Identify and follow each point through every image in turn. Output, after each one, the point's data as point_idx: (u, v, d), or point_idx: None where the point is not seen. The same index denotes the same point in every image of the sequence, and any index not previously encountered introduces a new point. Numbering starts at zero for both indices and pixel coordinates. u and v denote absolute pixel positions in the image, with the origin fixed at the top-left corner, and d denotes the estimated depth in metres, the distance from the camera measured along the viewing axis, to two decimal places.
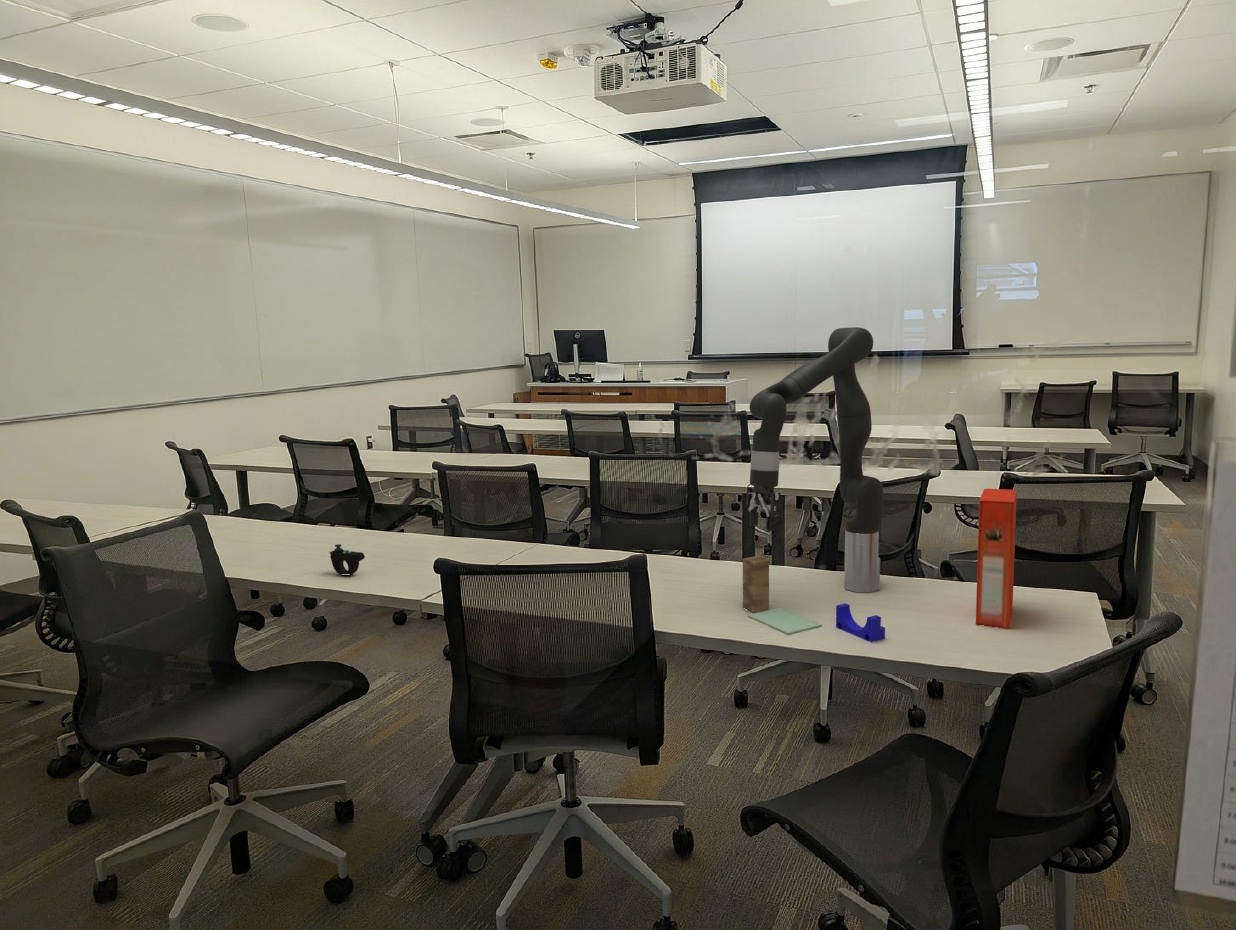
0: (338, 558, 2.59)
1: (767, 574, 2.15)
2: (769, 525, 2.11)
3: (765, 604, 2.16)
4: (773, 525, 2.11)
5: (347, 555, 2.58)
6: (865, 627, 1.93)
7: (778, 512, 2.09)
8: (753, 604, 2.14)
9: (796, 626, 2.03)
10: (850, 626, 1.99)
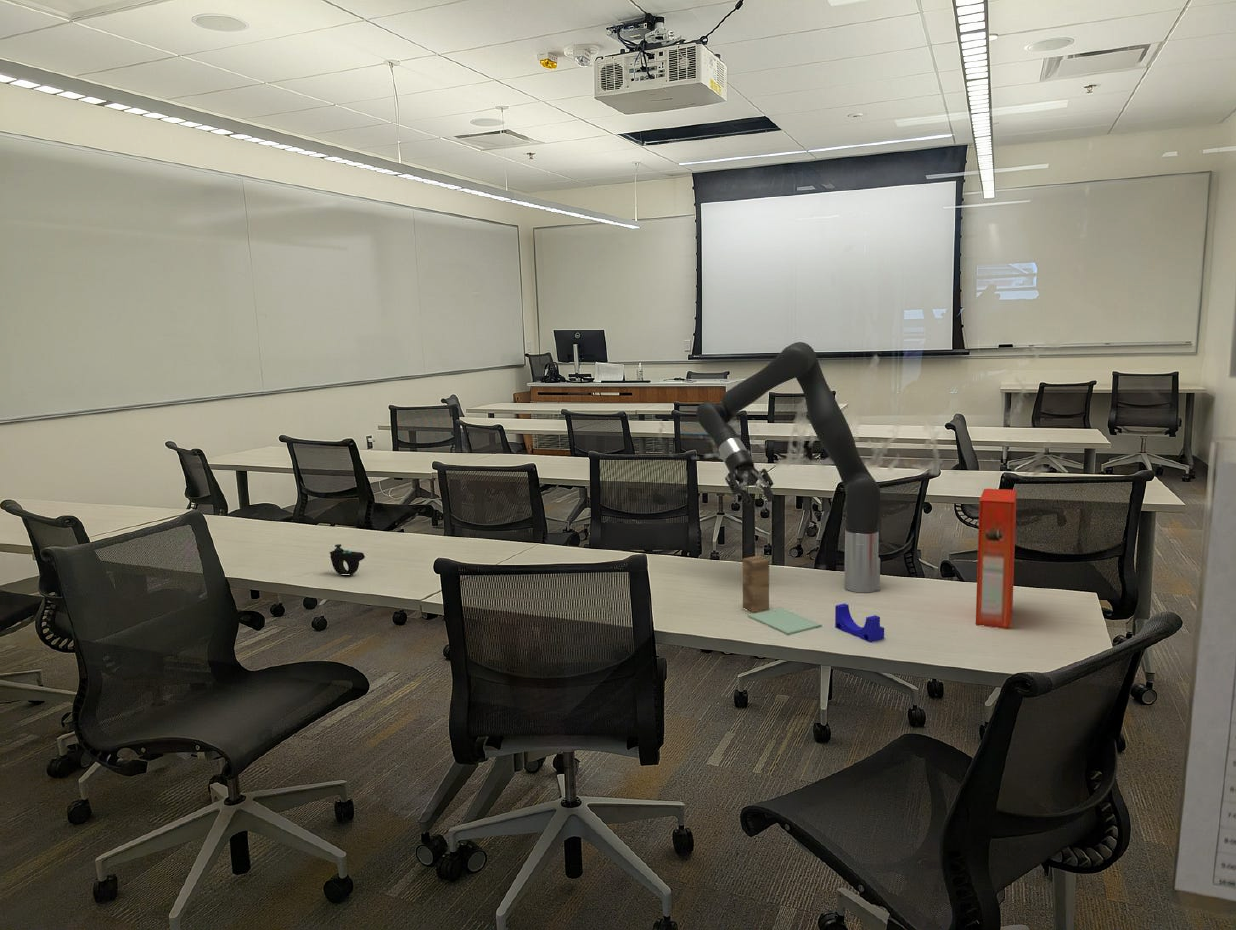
0: (338, 558, 2.59)
1: (767, 574, 2.15)
2: None
3: (765, 604, 2.16)
4: (745, 498, 2.27)
5: (347, 555, 2.58)
6: (864, 627, 1.93)
7: (735, 488, 2.28)
8: (753, 604, 2.14)
9: (796, 626, 2.03)
10: (849, 627, 1.98)
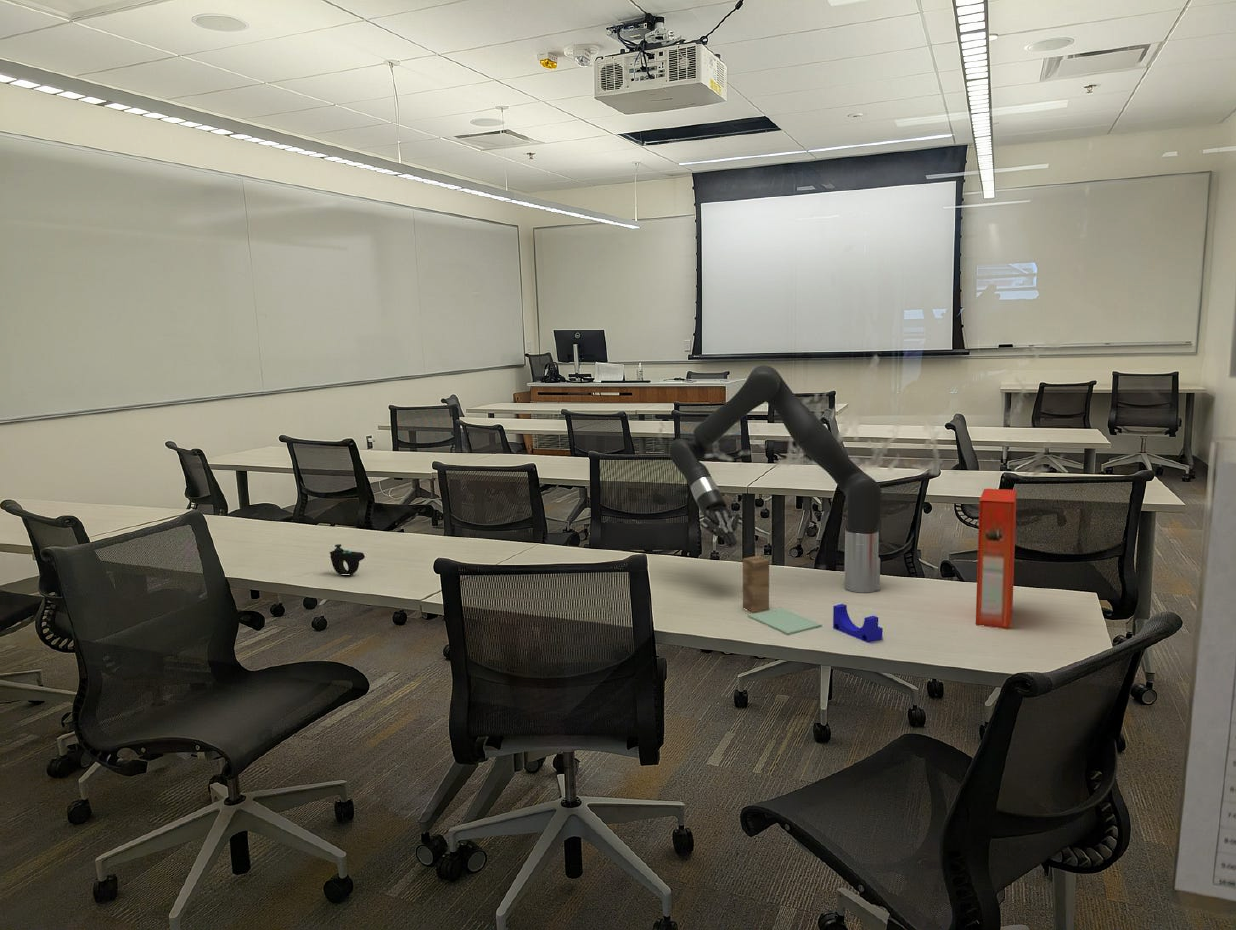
0: (338, 558, 2.59)
1: (767, 574, 2.15)
2: None
3: (765, 604, 2.16)
4: (727, 541, 2.24)
5: (347, 555, 2.58)
6: (862, 628, 1.93)
7: (717, 530, 2.25)
8: (753, 604, 2.14)
9: (796, 626, 2.03)
10: (847, 627, 1.98)
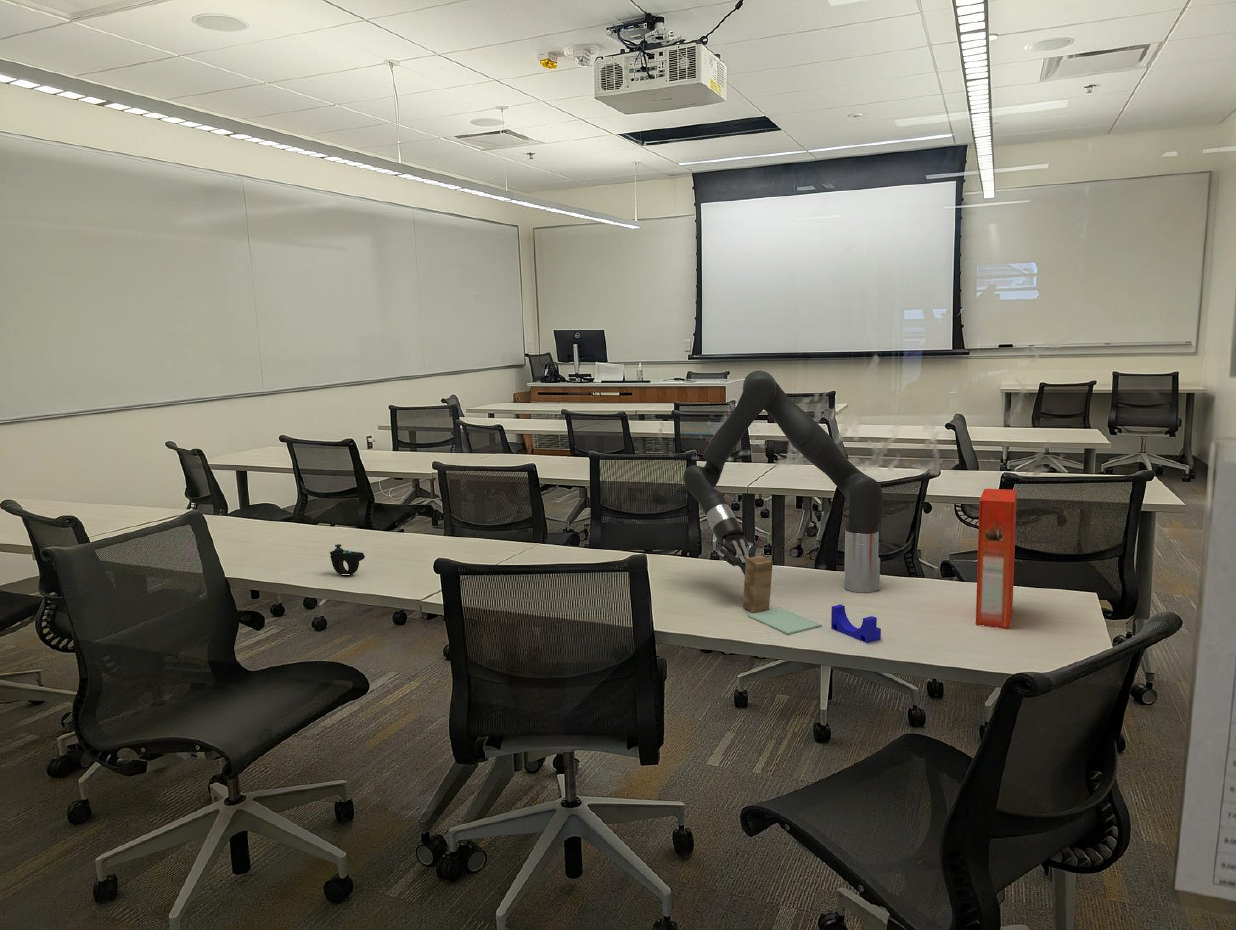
0: (338, 558, 2.59)
1: (770, 575, 2.14)
2: None
3: (765, 604, 2.16)
4: None
5: (347, 555, 2.58)
6: (861, 628, 1.93)
7: (734, 560, 2.19)
8: (754, 604, 2.14)
9: (796, 626, 2.03)
10: (845, 627, 1.98)
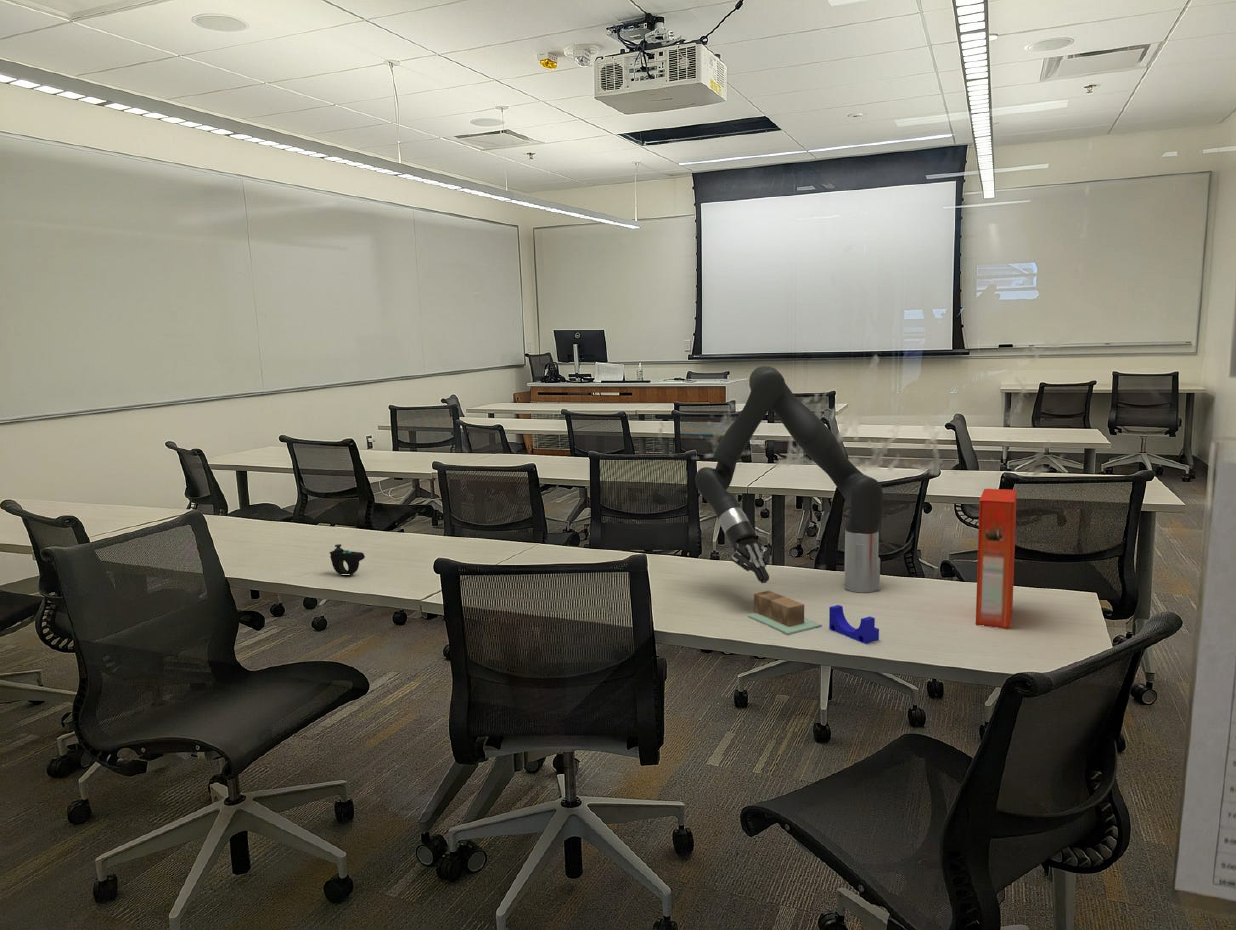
0: (338, 558, 2.59)
1: None
2: None
3: None
4: (759, 576, 2.13)
5: (347, 555, 2.58)
6: (859, 629, 1.92)
7: (748, 565, 2.14)
8: (760, 613, 2.12)
9: (796, 626, 2.03)
10: (843, 628, 1.98)
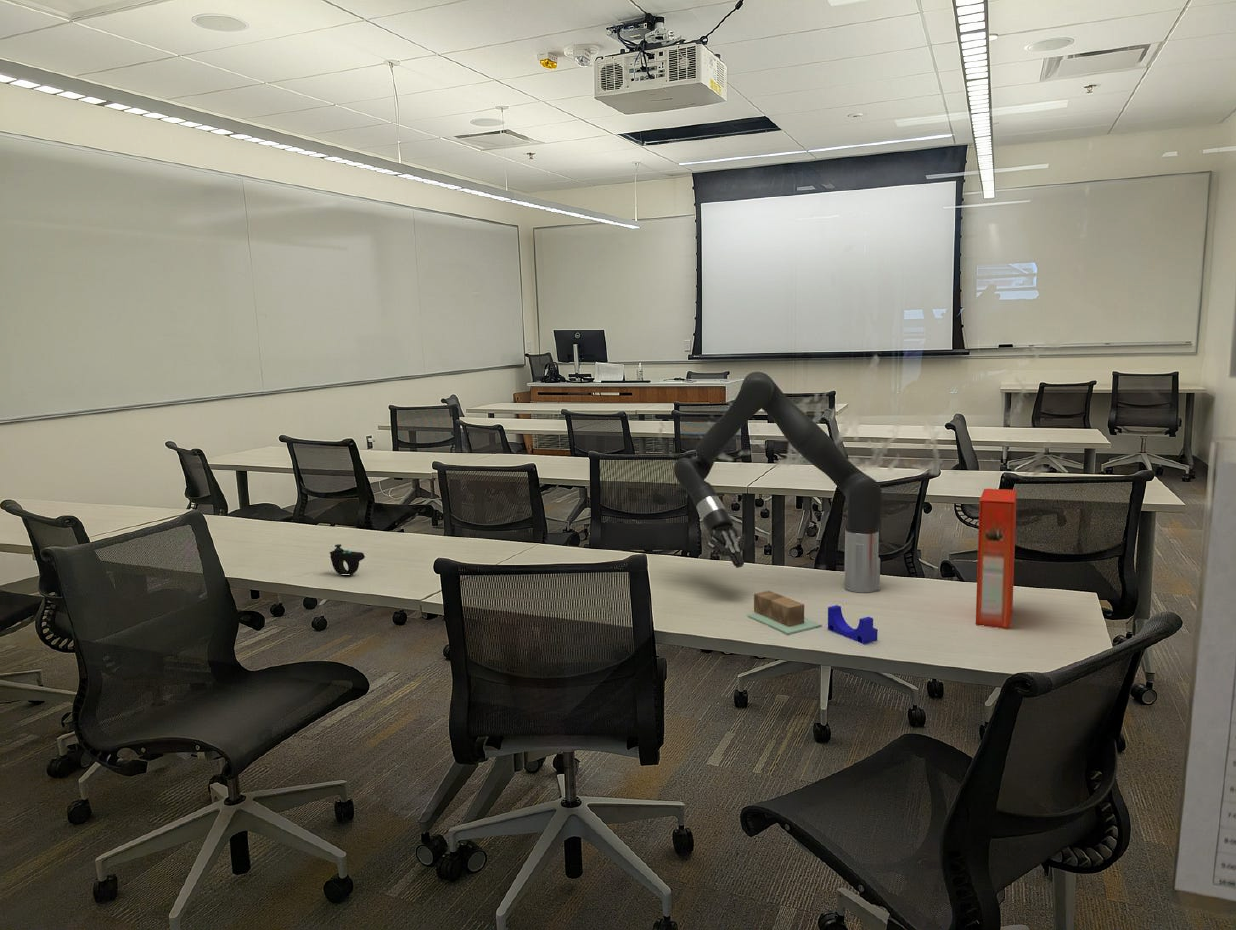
0: (338, 558, 2.59)
1: None
2: None
3: None
4: (734, 561, 2.22)
5: (347, 555, 2.58)
6: (857, 629, 1.92)
7: (723, 550, 2.23)
8: (760, 613, 2.12)
9: (796, 626, 2.03)
10: (842, 628, 1.97)
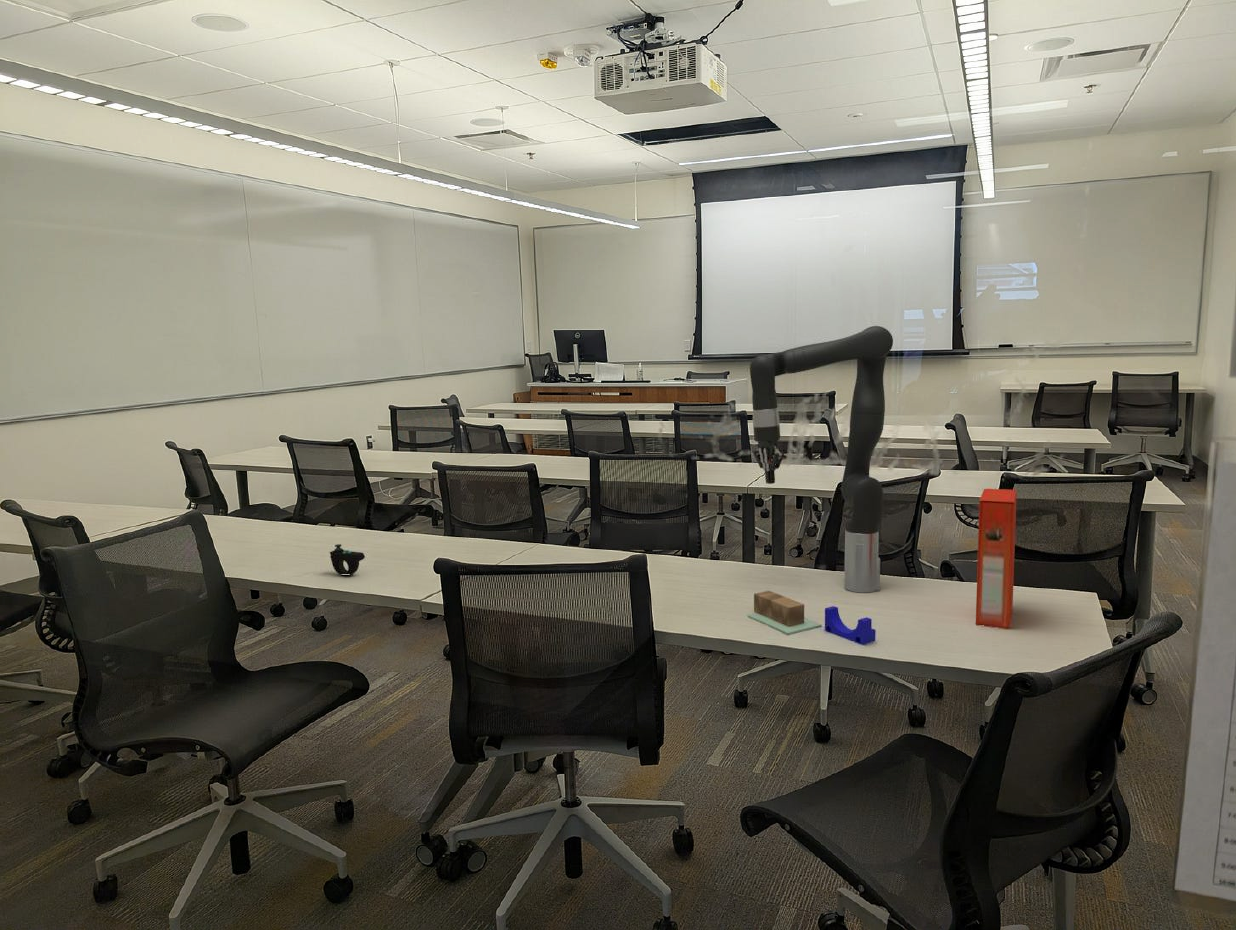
0: (338, 558, 2.59)
1: None
2: (770, 478, 2.34)
3: None
4: (773, 478, 2.34)
5: (347, 555, 2.58)
6: (856, 630, 1.92)
7: (777, 466, 2.32)
8: (760, 613, 2.12)
9: (796, 626, 2.03)
10: (840, 629, 1.97)
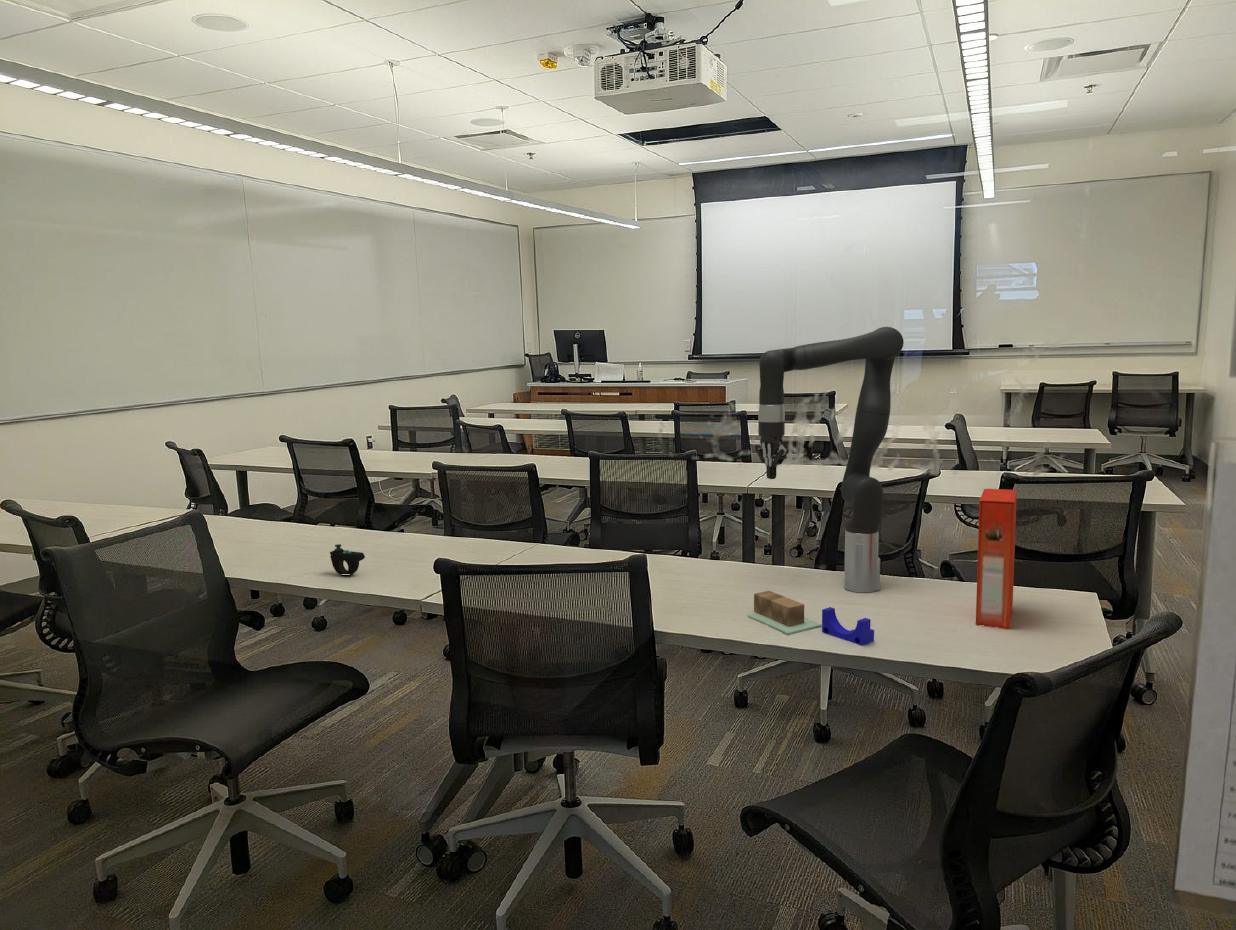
0: (338, 558, 2.59)
1: None
2: (772, 474, 2.34)
3: None
4: (775, 473, 2.34)
5: (347, 555, 2.58)
6: (855, 630, 1.91)
7: (780, 461, 2.32)
8: (760, 613, 2.12)
9: (796, 626, 2.03)
10: (838, 630, 1.96)
